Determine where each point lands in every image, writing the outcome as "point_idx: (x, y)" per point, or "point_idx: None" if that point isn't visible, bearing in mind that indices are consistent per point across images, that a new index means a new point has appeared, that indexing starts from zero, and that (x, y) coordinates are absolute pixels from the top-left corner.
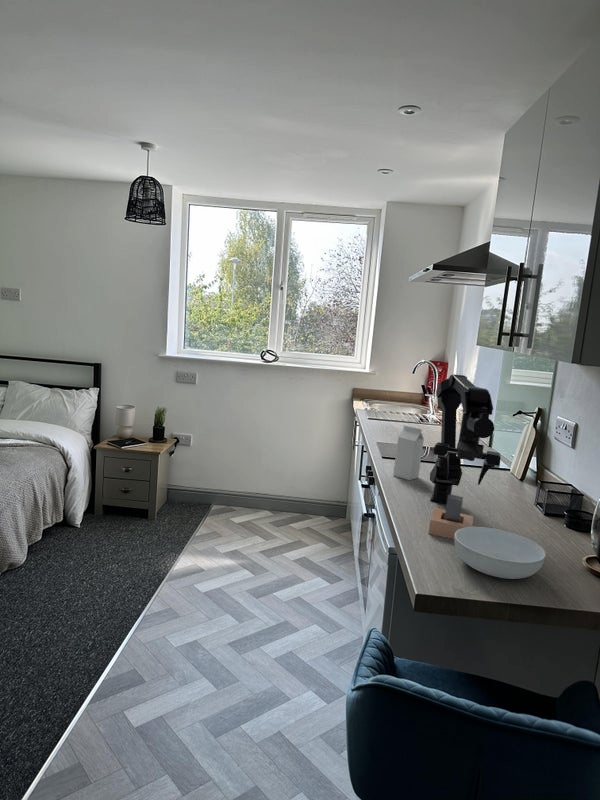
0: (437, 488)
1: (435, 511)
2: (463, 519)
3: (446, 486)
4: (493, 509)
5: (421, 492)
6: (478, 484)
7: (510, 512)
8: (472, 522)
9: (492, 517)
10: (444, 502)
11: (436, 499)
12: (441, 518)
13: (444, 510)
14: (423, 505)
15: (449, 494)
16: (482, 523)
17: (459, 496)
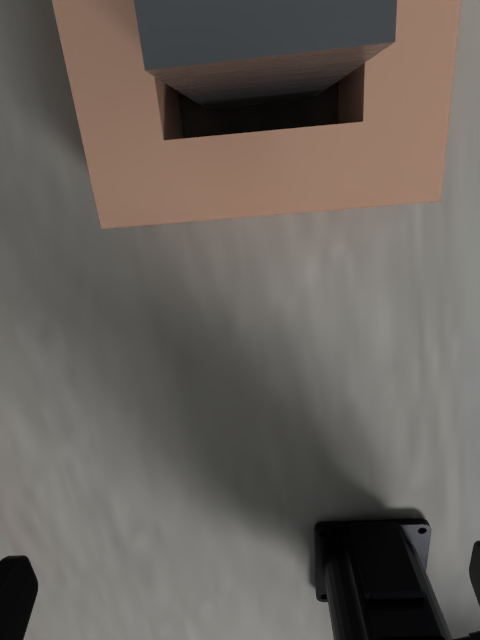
0: (429, 602)
1: (431, 97)
2: None
3: (378, 631)
4: (109, 586)
5: (476, 604)
6: (13, 559)
7: None
8: (57, 22)
9: (83, 487)
10: (350, 525)
11: (400, 529)
12: (350, 116)
13: (348, 197)
14: (466, 436)
15: (378, 38)
16: (102, 366)
17: (203, 54)
